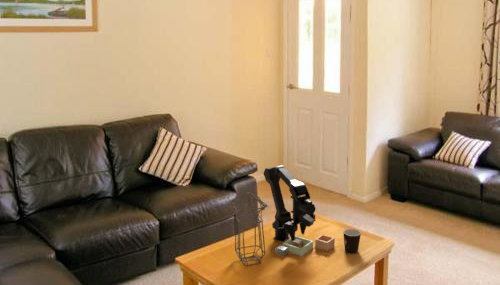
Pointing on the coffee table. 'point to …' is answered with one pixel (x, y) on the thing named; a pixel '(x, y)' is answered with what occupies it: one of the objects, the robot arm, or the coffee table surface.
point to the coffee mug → (351, 240)
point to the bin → (296, 250)
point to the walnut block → (297, 243)
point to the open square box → (324, 243)
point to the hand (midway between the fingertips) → (298, 237)
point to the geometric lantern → (249, 223)
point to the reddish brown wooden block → (281, 250)
